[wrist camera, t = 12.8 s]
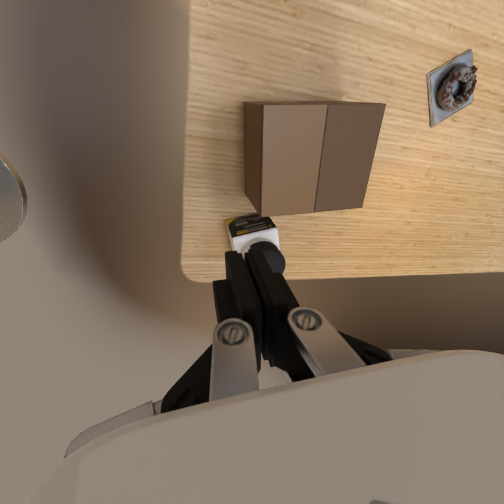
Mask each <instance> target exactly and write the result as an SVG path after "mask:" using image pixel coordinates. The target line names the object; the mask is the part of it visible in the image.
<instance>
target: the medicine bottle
mask: <svg viewBox="0 0 504 504" xmlns="http://www.w3.org/2000/svg"><path fill="white" fill-rule="evenodd" d="M226 225H227V230H228V234H229V239H230V243H231V248H232V251H237V252H238V253H242V255H243V258H244V253H245V252H248V249H253V248H261V250H262V252H263V254H264V256H265V258H266V260H267V262H268V264H269V265H270V267H271V269H272V271H273V273H275V272H281V274H282V273H283V272H284V269H285V259H284V257H283V255H282V254H281V252H280V248H279V238H278V229H277V227H276V226H275V224H274V223H273V222H272V220H271V219H270V217H261V215H259V214H258V213H255V214H251V215H247V216H242V217H238V218H234V219H229V220H227V221H226Z"/></svg>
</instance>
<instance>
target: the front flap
mask: <svg viewBox="0 0 504 504" xmlns="http://www.w3.org/2000/svg"><path fill="white" fill-rule="evenodd" d="M327 106H328V105H327V104H309V105H263V123H262V174H261V217H269V216H281V215H293V214H305V213H314V206H315V198H316V190H317V183H318V175H319V167H320V160H321V152H322V144H323V137H324V129H325V121H326V114H327Z"/></svg>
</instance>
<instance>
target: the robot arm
mask: <svg viewBox="0 0 504 504" xmlns="http://www.w3.org/2000/svg"><path fill="white" fill-rule="evenodd" d="M225 264H226V279H224V280H217V281H213V292H214V300H215V308H216V315H217V321H218V324H217V326H216V327H215V329H214V332H213V343H212V344H211V345H210V347H209V348H208V349H207V350H206V351H205V352H204V353H203V354H202V355H201V356H200V357H199V358H198V360H197V361H196V362H195V363H194V364H193V365H192V366H191V367H190V368H189V369H188V370H187V371H186V373H185V374H184V375H183V376H182V377H181V378H180V379H179V380H178V381H177V382H176V383H175V385H174V386H173V387H172V388H171V389H170V390H169V391H168V392H167V394H166V395H165V397H164V398H163V399H162V400H160V401H157V402H155V403H153V402H152V401H149V402H147V403H145V404H143V405H140V406H138V407H135V408H133V409H131V410H129V411H126V412H124V413H122V414H120V415H117V416H115V417H113V418H110V419H108V420H106V421H104V422H101V423H99V424H97V425H95V426H92V427H90V428H88V429H86V430H85V431H83V432H81V433H80V434H79V435H78V436H77V437H76V438H75V439H74V440H73V441H72V442H71V444H70V445H69V447H68V449H67V450H66V453H65V456H64V459H63V460H62V461H61V462H60V463H58V464H57V465H56V466H54V467H53V468H52V469H51V470H50V471H49V472H48V473H47V474H45V475H44V476H43V477H42V478H41V480H40V481H39V482H38V483H37V484H36V485H35V486H34V488H33V489H32V490H31V492H30V493H29V494H28V496H27V497H26V499H25V500H24V502H23V504H504V355H501V354H496V353H492V352H485V351H478V350H451V351H438V350H401V349H400V350H399V349H388V351H387V352H385V351H383V350H381V349H380V348H378V347H376V346H373V345H371V344H368V343H366V342H364V341H361V340H359V339H356V338H354V337H351V336H349V335H347V334H344V333H342V332H339V331H337V330H336V329H335V328H334V327H333V326H332V325H331V324H330V322H329V321H328V320H327V319H326V318H325V317H324V316H323V314H322V313H320V312H319V311H318V310H316V309H314V308H311V307H303V306H302V307H300V305H299V304H298V302H297V300H296V298H295V296H294V295H293V293H292V291H291V289H290V288H289V286H288V284H287V282H286V280H285V279H284V277H283V275H282V274H281V272H275V273H273V271H272V269H271V267H270V265H269V264H268V262H267V260H266V258H265V256H264V254H263V252H262V250H261V248H253V249H248V252H245V253H244V258H243V255H242V253H238V252H237V251H228V252H225ZM261 353H262V356H263V359H264V360H268V361H269V364H270V367H274V366H276V367H278V368H280V369H282V370H283V375H284V378H285V380H286V382H287V383H288V384H284V385H280V386H276V387H271V388H267V389H262V390H259V382H258V373H259V371H260V368H261Z"/></svg>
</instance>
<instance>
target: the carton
mask: <svg viewBox="0 0 504 504" xmlns="http://www.w3.org/2000/svg"><path fill="white" fill-rule="evenodd" d="M309 104H327V105H328V106H327V114H326V121H325V129H324V137H323V144H322V152H321V160H320V167H319V175H318V183H317V190H316V198H315V206H314V212H322V211H333V210H344V209H354V208H362V206H363V201H364V197H365V193H366V188H367V184H368V180H369V175H370V171H371V167H372V162H373V158H374V154H375V149H376V145H377V141H378V136H379V132H380V128H381V123H382V119H383V115H384V110H385V106H386V104H382V103H366V102H346V101H299V102H244V165H245V194H246V195H247V197H248V198H249V200H250V202H251V203H252V205H253V206H254V208H255V209H256V211H257V212H258V214H259V215H261V174H262V123H263V105H309Z"/></svg>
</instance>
